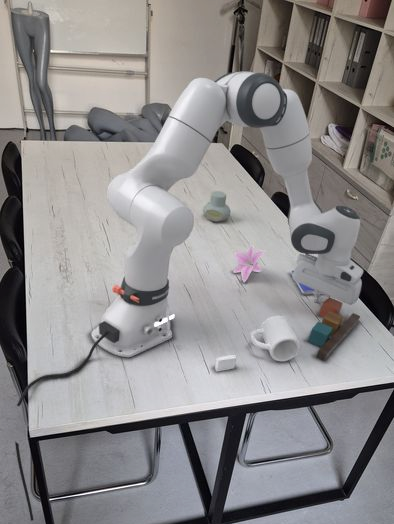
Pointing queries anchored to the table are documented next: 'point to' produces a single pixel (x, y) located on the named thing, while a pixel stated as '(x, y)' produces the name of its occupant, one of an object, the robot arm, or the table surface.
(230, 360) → the eraser
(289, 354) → the mug
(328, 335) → the teal block
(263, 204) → the table surface
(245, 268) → the lily
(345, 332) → the straightedge
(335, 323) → the oak block
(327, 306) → the terracotta block
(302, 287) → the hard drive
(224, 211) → the air freshener
